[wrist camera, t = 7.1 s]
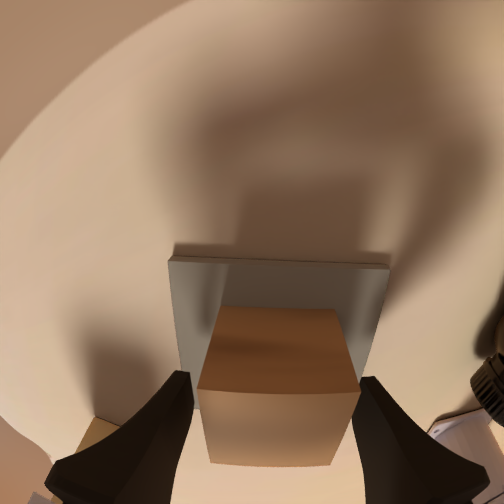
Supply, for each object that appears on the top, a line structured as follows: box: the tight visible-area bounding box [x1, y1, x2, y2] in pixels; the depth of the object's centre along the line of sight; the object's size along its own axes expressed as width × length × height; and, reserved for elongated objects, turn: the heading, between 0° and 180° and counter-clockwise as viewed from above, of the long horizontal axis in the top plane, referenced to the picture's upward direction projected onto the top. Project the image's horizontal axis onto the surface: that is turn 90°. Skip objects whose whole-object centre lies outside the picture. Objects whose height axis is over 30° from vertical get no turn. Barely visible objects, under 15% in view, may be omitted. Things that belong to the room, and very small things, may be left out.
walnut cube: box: [197, 306, 361, 467], centre depth 11 cm, size 5×5×5 cm
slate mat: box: [168, 256, 391, 409], centre depth 14 cm, size 10×10×1 cm
